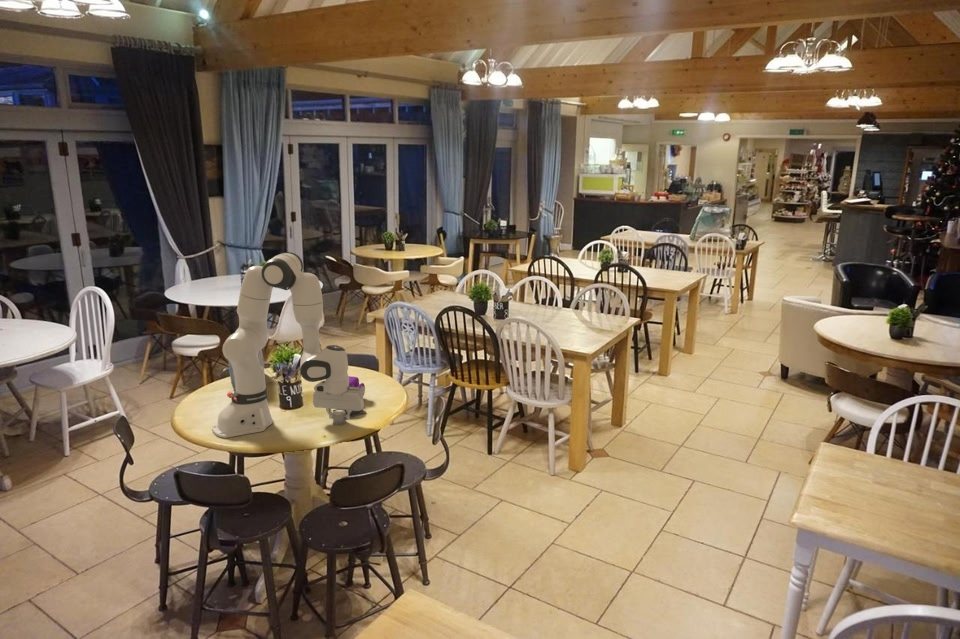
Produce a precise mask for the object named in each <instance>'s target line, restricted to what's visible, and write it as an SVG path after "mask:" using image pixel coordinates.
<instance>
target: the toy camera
mask: <svg viewBox="0 0 960 639" xmlns="http://www.w3.org/2000/svg"><path fill="white" fill-rule="evenodd" d="M348 376H349V375H348ZM349 387H358V388H360V389H361V390H362V391H363V397H364V396H365V393H366V386H365V383H363V382H361V383H360V379H359V377H358V376H352V375H351V376H349Z"/></svg>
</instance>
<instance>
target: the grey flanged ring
mask: <svg viewBox="0 0 960 639" xmlns="http://www.w3.org/2000/svg"><path fill="white" fill-rule="evenodd" d="M336 410H341V409H333V410H332V413H333V412H334V411H336ZM344 411H345V412H346V414H348V412H347V410H344ZM364 413H365V414H367V411H366V410H364V409H362V410H360V411H353V410H352V411H351V413H350V415H349V416H350V418H354V417H357V416H361V415H365V414H364Z"/></svg>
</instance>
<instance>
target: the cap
mask: <svg viewBox="0 0 960 639" xmlns="http://www.w3.org/2000/svg"><path fill="white" fill-rule="evenodd" d="M335 410H336V409H335ZM332 413H333V419H332V421H333V422H332V424H333V425H335V426H342V425H345V424H347V420H344V416H345V415H346V412H345V411H344V410H336V411H334V412H333V411H332Z"/></svg>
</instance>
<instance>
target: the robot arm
mask: <svg viewBox="0 0 960 639" xmlns="http://www.w3.org/2000/svg"><path fill="white" fill-rule="evenodd" d="M303 270H304V262H303V260H302V258H301V256H299V255H298V254H296V253H293V252H290V251H287V252H282V253H280V254H277V255H275V256H273V257H272V258H271V259H270V258H269V259H268V260H267V261H265V263H264V264H263V266H262V265H253V266H250V267H248V269H247V270H246V272H245V274H244V276H243V279H242V283H241V287H240V292H239V296H238V302H237V306H236V307H237V308H236V313H237V315H238V322H239V323H238V324H239V326H238V328H237V329H238V330H237V329H236V330H237V332H233V333H232V334H230V335H229V336H228V337H227V338H226V339H225V341H224V343H223V345H222V349H221V350H222V354H223V356H224V358H225V359H226V360H227V361H228V362H229V361H230V363H231V366H232V368H233V372H234V377H235V386H236V390H234V392H232V391H228V392H227V397H228V398H229V399H231V402H229V403H228V404H227V405H226V406H225V407H224V408H223V409H222V410H220V412H219V413H218V416H217V423H214V424H213V425H212V427H211V431H212V433H213V434H214V435H215V436H217V437H218V438H222V439H227V438H232V437H237V436H238V437H239V436H243V435H249V434H255V433H260V432H264V431H266V429H267V428H268V427H269V426H271V425H272V424H273V422H274V419H273V417H272V414H271V411H270V407H269V402H268V401H269V394H268V393H269V392H268V387H267V386H266V377H265V376H266V374H265V368H264V369H263V367H261V365H260V363H259V360H258V351H260V350H261V349H262V350H263V349H264V348H265V347H266V345H267V343H268V342H269V341H268V340H269V338H270V333H269V330H268V313H269V308H270V303H271V298H272V297H271V296H272V291H273V288H276V289H281V290H283V291H289V290H290V293H291V301H292V311H293V314H294V317H295V318H294V319H295V321H296V322H297V324H299V325H300V328H301V332H302V333H301V334H302V345H303V349H302V352H301V355H300V357H299V366H300V369H299V372H300V376H301V377H302V379H303V380H305V381H306V382H310V383H315V382H318V383H317V384H315V385H314V387H313V391H314V392H313V395H312V405H313V407H314V408H317V409H318V408H319V409H325V411H326V413H327V414H328V417H329V419H330V420H331V419H332V420H333V410H336V409H341V410H347V412H348V414H346V415H345V416H344V420H346V421H349V420H350V418H351V417H350V416H349V415H350V413H351V411H352V410H353V411H360V410H362V409H363V408H364V407H365V401H364V396H363V391H362V390H361V389H360V388H358V387H349V374H348V371H349V362H348V360H349V359H348V354H347V351H346V349H345V348H344V347H343V346H341V345H338V344H337V345H336V344H331V345H329V344H328V345H327V346H325V347H324V348H322V347H321V343H320V341H321V340H320V332H319V331H320V330H319V328H320V322H321V321H322V320H323V314H324V301H323V293H322V288H321V284H320V280H319V278H318V276H317V275H315V274H314V273H311V272H304V271H303ZM332 409H333V410H332ZM363 410H364V409H363Z"/></svg>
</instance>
